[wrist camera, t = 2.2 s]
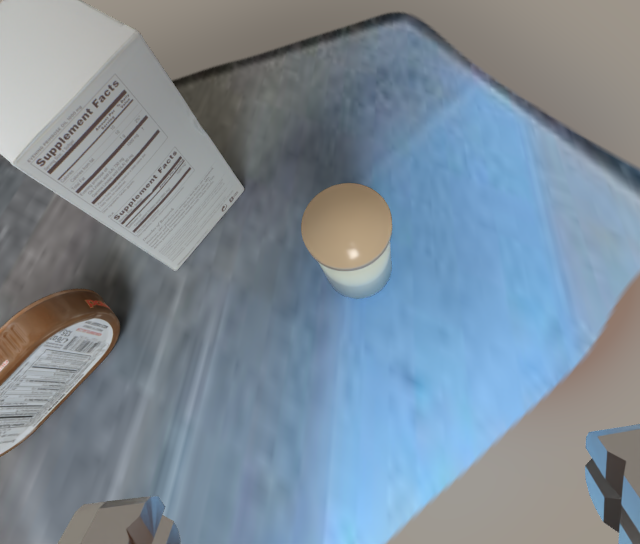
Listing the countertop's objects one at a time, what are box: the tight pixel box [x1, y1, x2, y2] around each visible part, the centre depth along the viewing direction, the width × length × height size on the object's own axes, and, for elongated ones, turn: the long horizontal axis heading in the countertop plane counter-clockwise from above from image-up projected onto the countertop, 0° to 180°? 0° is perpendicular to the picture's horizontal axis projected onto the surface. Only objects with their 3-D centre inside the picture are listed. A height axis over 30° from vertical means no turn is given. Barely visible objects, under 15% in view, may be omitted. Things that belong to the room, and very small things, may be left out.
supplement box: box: [0, 0, 244, 271], centre depth 31 cm, size 10×9×17 cm
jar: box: [301, 183, 392, 299], centre depth 30 cm, size 5×5×8 cm
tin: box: [0, 289, 120, 457], centre depth 31 cm, size 15×3×8 cm, turn 137°
